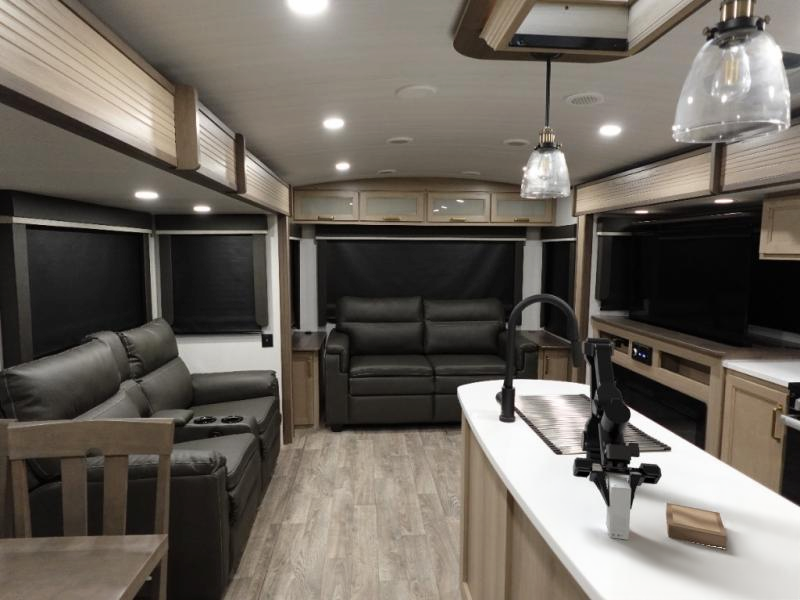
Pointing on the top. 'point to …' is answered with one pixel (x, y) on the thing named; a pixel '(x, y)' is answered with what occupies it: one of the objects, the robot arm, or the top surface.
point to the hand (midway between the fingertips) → (619, 507)
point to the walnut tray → (695, 525)
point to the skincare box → (618, 508)
